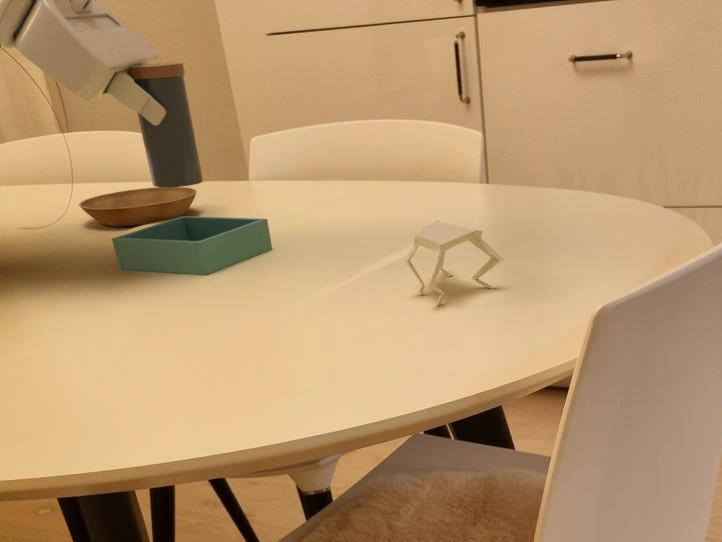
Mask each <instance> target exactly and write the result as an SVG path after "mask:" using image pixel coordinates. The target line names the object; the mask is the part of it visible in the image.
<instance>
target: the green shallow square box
mask: <svg viewBox="0 0 722 542" xmlns="http://www.w3.org/2000/svg"><path fill="white" fill-rule="evenodd" d="M268 221H269V220H268V218H255V217H254V218H253V217H252V218H251V217H249V218H248V217H226V216H225V217H222V216H195V215H194V216H191V215H187V216H186V215H182V216H178V217H176V218H172V219H169V220H166V221H163V222H159V223H157V224H154V225H150V226H148V227H147V226H146V227H145V228H141V229H138V230H135V231H132V232H131V231H130V232H129V233H125V234H122V235H119V236H115V237H113V238H111V242H112V246H113V249H114V253H115V256H116V260H117V265H118V268H119V270H120V271H129V272H144V273H158V274H159V273H160V274H176V275H191V276H210V275H211V274H214V273H217V272H219V271H222V270H224V269H227V268H229V267H232V266H235V265H237V264H240V263H242V262H244V261H247V260H250V259H252V258H255V257H257V256H259V255H263V254H264V253H267V252H270V251H272V250H273V245H272V239H271V234H270V228H269V222H268Z"/></svg>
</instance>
